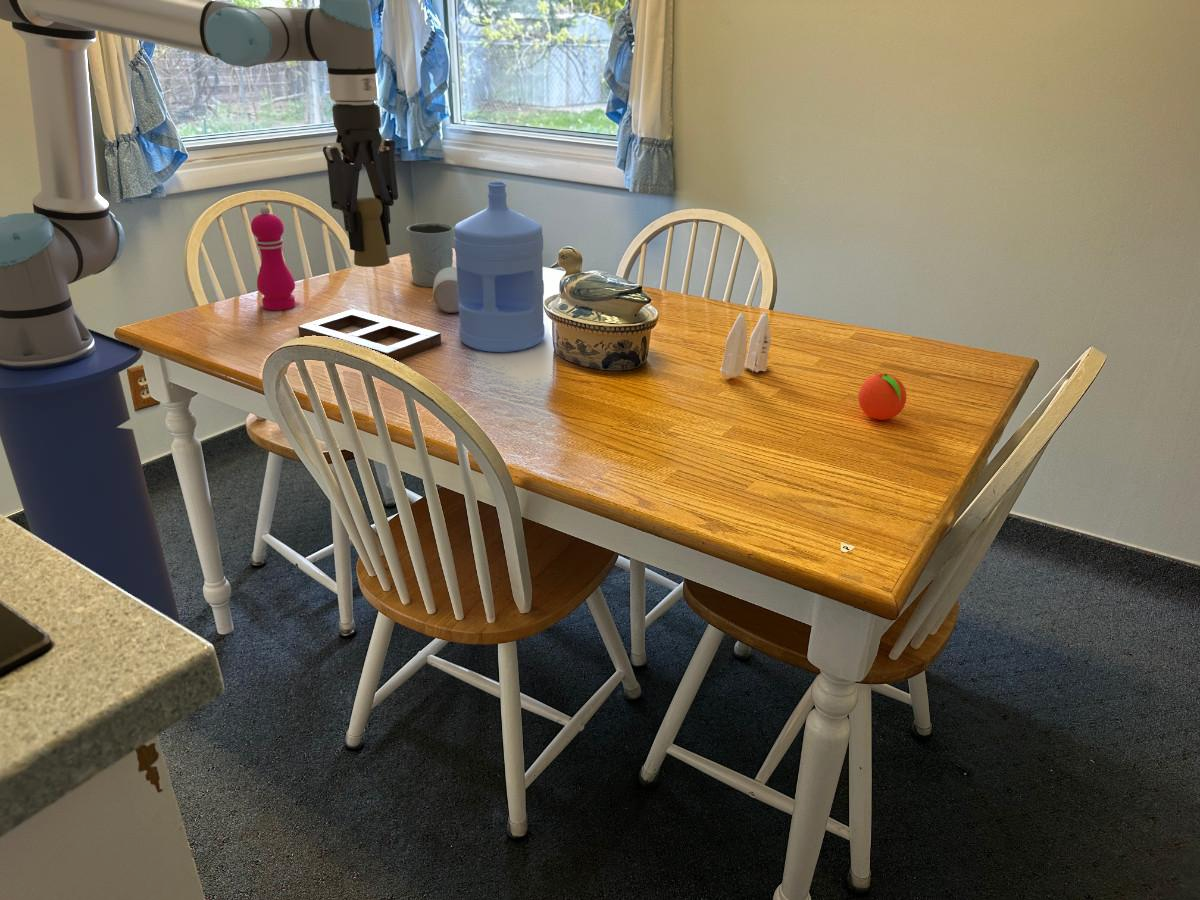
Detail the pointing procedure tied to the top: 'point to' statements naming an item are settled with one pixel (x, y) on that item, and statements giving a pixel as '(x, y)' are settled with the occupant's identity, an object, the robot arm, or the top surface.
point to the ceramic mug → (446, 290)
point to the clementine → (882, 396)
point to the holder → (374, 333)
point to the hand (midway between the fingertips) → (370, 246)
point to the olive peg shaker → (371, 234)
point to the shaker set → (738, 346)
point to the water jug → (499, 277)
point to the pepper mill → (272, 262)
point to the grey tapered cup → (429, 251)
